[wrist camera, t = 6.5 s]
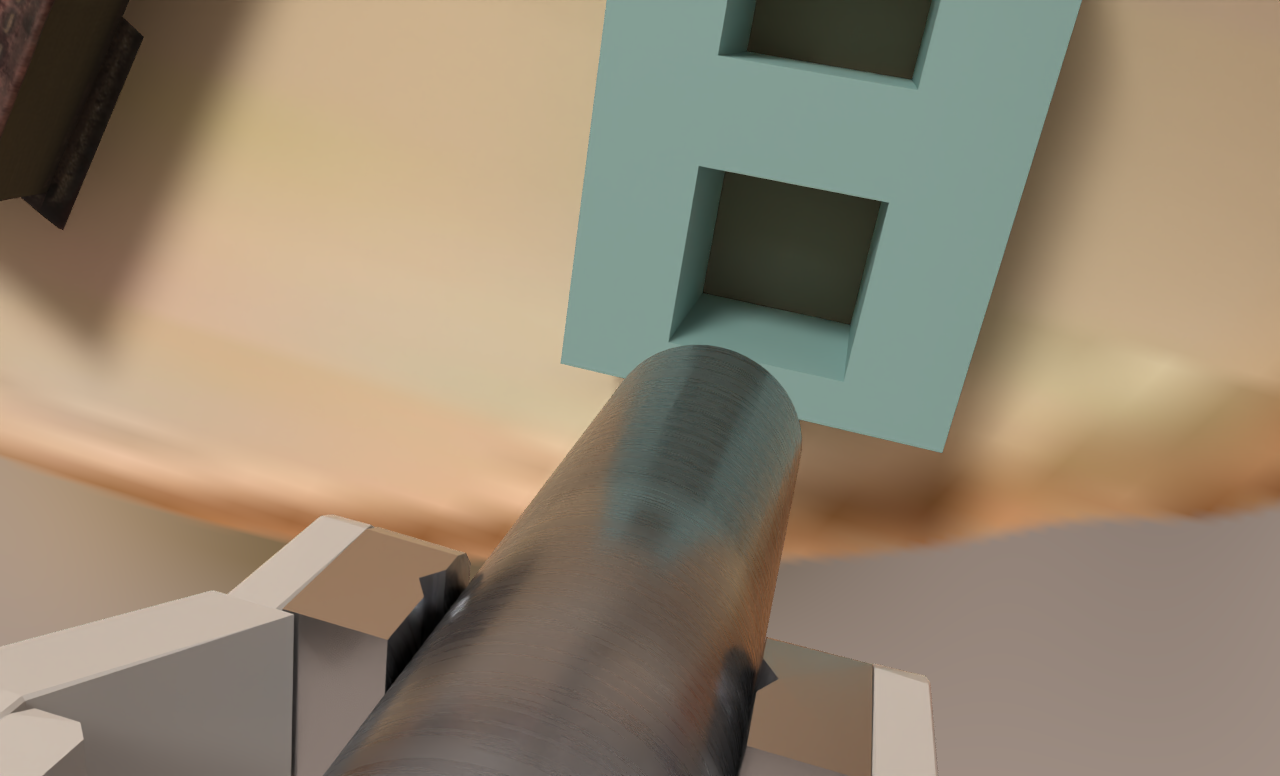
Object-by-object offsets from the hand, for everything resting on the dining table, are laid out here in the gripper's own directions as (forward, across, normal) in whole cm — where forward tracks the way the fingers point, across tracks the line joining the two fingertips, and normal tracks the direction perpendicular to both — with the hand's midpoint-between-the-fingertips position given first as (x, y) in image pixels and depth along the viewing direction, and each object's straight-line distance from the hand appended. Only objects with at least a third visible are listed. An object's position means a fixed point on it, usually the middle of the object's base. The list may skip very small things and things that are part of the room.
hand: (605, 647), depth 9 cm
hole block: (+20, 0, -4) cm, 20 cm away
